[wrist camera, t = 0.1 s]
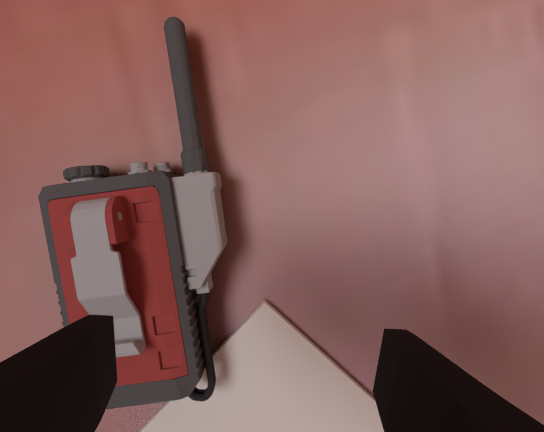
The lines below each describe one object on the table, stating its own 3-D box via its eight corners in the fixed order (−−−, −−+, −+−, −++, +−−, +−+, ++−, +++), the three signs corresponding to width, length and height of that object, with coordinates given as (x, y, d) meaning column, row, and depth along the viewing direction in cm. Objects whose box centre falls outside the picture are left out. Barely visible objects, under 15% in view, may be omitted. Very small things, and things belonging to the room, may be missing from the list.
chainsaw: (252, 378, 19) (200, 28, 18) (245, 433, 15) (176, -26, 13) (105, 397, 19) (42, 51, 18) (55, 457, 15) (-34, 5, 14)
